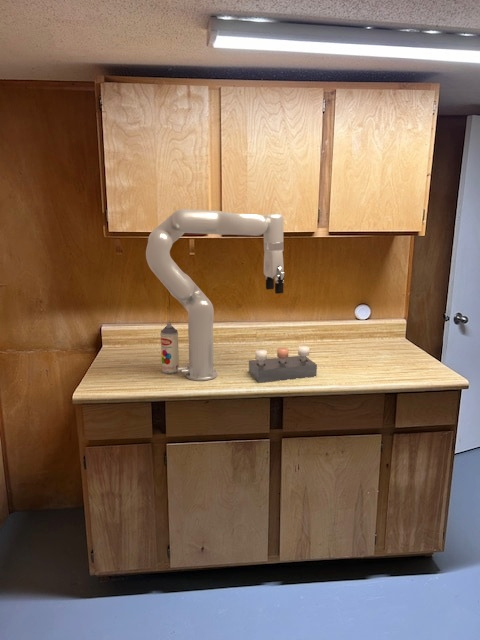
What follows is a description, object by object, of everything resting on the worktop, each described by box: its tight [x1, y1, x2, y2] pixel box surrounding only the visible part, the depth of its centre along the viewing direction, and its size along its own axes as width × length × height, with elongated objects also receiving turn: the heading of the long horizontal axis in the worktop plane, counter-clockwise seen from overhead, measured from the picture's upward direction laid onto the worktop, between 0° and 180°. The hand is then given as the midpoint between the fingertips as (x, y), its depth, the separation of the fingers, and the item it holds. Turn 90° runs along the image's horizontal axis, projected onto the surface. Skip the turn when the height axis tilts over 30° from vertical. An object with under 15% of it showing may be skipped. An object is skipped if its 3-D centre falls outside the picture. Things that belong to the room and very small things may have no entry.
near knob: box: [254, 349, 268, 366], centre depth 180 cm, size 4×4×8 cm
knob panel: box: [248, 355, 318, 384], centre depth 183 cm, size 24×12×5 cm, turn 107°
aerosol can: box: [160, 322, 180, 375], centre depth 184 cm, size 7×7×20 cm
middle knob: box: [276, 347, 289, 364], centre depth 182 cm, size 4×4×8 cm
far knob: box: [297, 345, 310, 362], centre depth 185 cm, size 4×4×8 cm
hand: (274, 291), depth 181 cm, fingers open, 9 cm apart
